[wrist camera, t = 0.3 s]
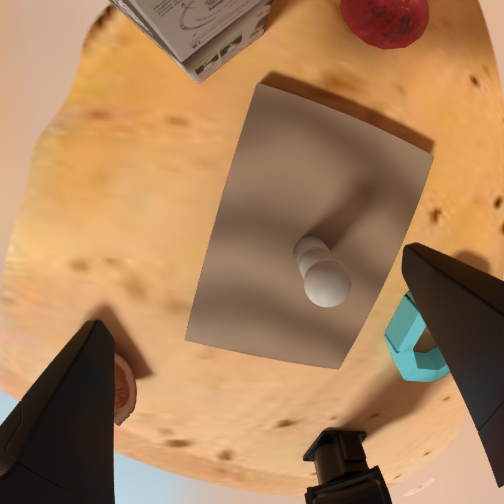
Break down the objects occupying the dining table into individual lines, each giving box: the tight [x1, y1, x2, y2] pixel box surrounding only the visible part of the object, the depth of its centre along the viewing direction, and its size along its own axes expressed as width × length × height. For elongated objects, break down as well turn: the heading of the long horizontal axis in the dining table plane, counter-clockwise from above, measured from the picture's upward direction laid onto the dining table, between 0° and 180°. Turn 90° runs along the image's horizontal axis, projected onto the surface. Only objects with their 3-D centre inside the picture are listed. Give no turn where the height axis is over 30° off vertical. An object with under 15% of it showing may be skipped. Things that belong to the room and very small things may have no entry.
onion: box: [340, 0, 429, 49], centre depth 14 cm, size 6×6×8 cm
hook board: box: [185, 83, 434, 370], centre depth 21 cm, size 20×14×8 cm
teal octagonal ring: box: [385, 291, 450, 382], centre depth 27 cm, size 11×11×3 cm
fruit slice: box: [114, 352, 137, 426], centre depth 26 cm, size 8×7×5 cm
